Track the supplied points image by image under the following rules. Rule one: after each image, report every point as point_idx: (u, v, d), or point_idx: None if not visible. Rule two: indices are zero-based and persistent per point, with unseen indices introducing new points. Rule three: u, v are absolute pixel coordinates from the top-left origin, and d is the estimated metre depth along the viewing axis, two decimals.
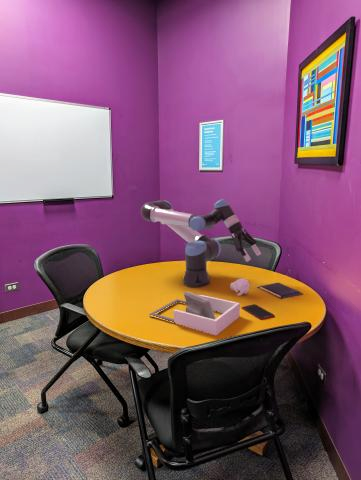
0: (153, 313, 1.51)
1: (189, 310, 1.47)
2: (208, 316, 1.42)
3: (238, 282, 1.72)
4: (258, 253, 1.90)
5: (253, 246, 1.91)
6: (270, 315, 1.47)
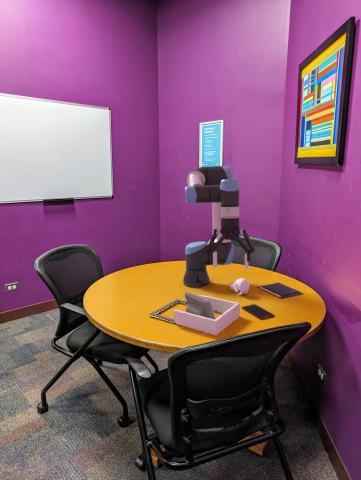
0: (153, 313, 1.51)
1: (189, 310, 1.47)
2: (209, 316, 1.42)
3: (238, 282, 1.72)
4: None
5: None
6: (270, 315, 1.48)
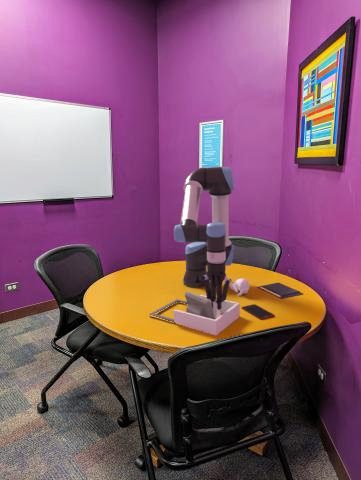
0: (153, 313, 1.51)
1: (189, 310, 1.47)
2: (209, 316, 1.42)
3: (238, 282, 1.72)
4: None
5: None
6: (270, 315, 1.48)
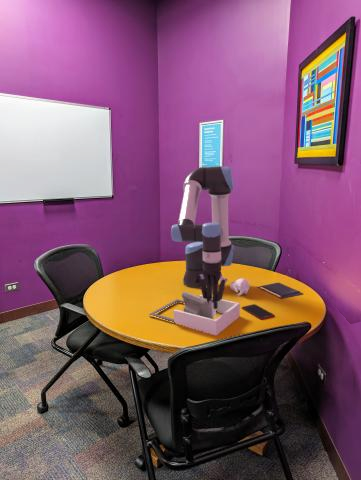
0: (153, 313, 1.51)
1: (187, 310, 1.47)
2: (206, 316, 1.43)
3: (238, 282, 1.72)
4: None
5: None
6: (270, 315, 1.48)
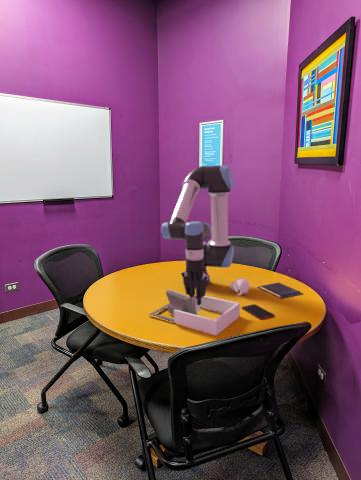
0: (153, 313, 1.51)
1: (171, 307, 1.51)
2: (190, 312, 1.47)
3: (238, 282, 1.72)
4: None
5: None
6: (270, 315, 1.48)
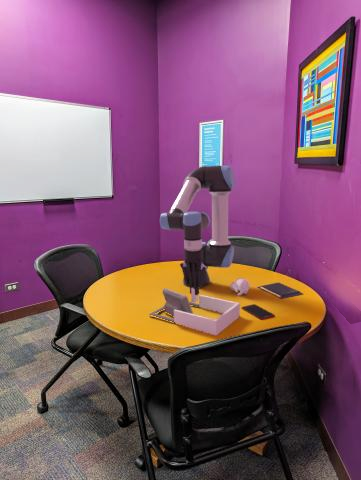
0: (153, 313, 1.51)
1: (167, 306, 1.52)
2: (186, 311, 1.48)
3: (238, 282, 1.72)
4: None
5: None
6: (270, 315, 1.48)
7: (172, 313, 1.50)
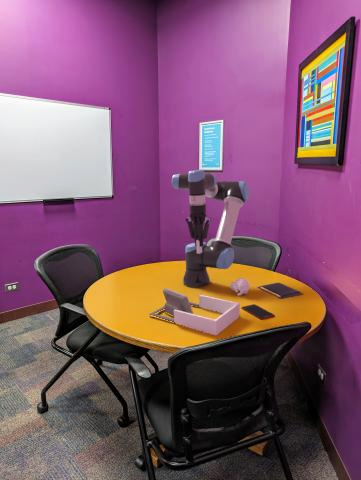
0: (153, 313, 1.51)
1: (168, 306, 1.52)
2: (186, 311, 1.48)
3: (238, 282, 1.72)
4: None
5: None
6: (270, 315, 1.48)
7: (172, 313, 1.50)
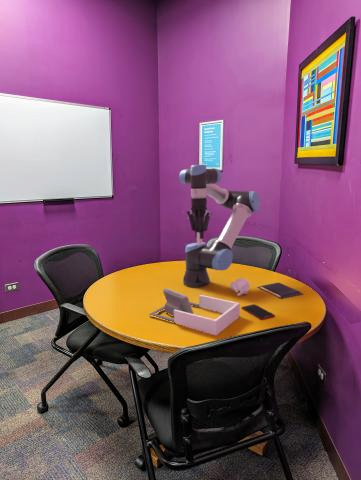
0: (153, 313, 1.51)
1: (168, 306, 1.52)
2: (187, 311, 1.48)
3: (238, 282, 1.72)
4: None
5: None
6: (270, 315, 1.48)
7: (173, 313, 1.50)
